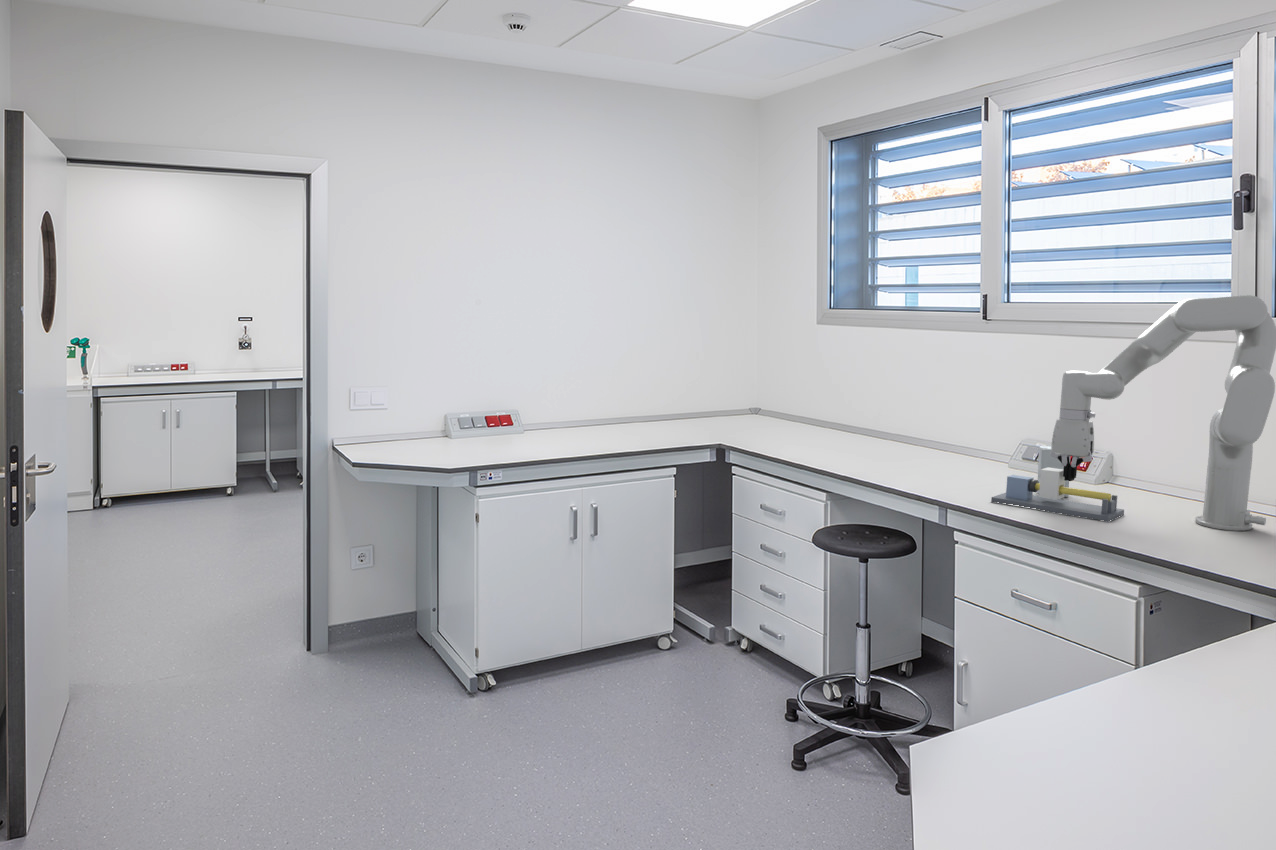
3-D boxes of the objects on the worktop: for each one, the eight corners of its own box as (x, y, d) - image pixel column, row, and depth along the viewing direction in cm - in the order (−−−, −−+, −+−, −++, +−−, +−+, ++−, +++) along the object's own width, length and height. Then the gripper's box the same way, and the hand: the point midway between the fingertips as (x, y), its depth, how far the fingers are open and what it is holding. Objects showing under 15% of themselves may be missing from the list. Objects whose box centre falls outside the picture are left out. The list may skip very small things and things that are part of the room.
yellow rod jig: (1123, 514, 245) (1126, 488, 244) (1108, 522, 237) (1110, 494, 236) (1008, 496, 268) (1010, 471, 267) (991, 502, 260) (992, 477, 259)
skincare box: (1064, 493, 273) (1068, 446, 271) (1068, 498, 267) (1072, 449, 265) (1035, 492, 275) (1038, 444, 273) (1038, 496, 269) (1042, 447, 267)
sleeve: (1063, 497, 253) (1066, 469, 252) (1057, 499, 250) (1059, 471, 249) (1046, 494, 257) (1048, 467, 256) (1038, 497, 253) (1040, 469, 252)
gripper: (1108, 416, 244) (1102, 482, 247) (1052, 411, 255) (1047, 474, 257) (1098, 419, 239) (1092, 486, 241) (1041, 413, 249) (1036, 477, 252)
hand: (1069, 480), depth 249 cm, fingers closed
